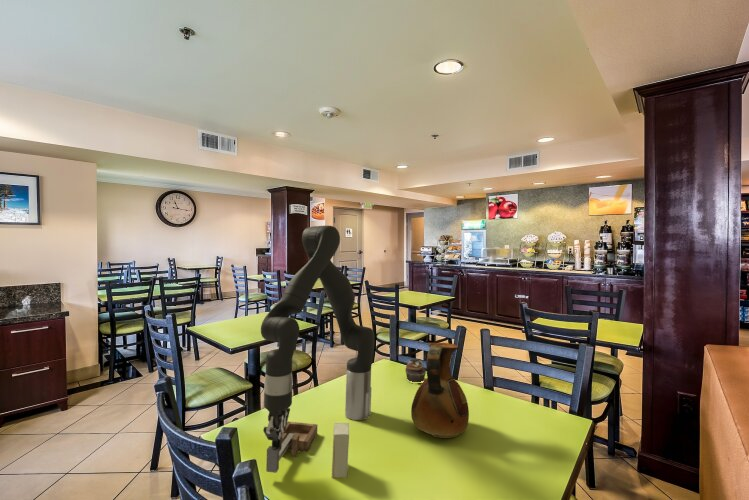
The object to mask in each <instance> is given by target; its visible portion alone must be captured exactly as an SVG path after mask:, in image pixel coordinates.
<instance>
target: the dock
mask: <svg viewBox="0 0 749 500" xmlns="http://www.w3.org/2000/svg"><path fill="white" fill-rule="evenodd" d="M289 433H293V434H294V437H293V439H292V442H291V444H290V445H289V447H288V448H287V450H286V451H291V457H292V458H293V457H294V458H296V457H297V455H298V453H299V452H304V453H308V452H309V450H310V449H311V446H312V445H313V442H314V441H315V439H316V437H317V436H318V424H317V423H316V424H315V423H309V422H308V423H305V422H297V421H287V425H286V429H285V431H283V436H281V437H282V443H283V441H284V440H285V439H286V437H287V436H288V434H289Z"/></svg>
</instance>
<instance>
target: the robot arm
mask: <svg viewBox="0 0 749 500" xmlns="http://www.w3.org/2000/svg"><path fill="white" fill-rule="evenodd" d="M301 235H302V236H301V243H302V245H303V249H304V252H305V253H306V255H307V257H308V259H309V260H308V262H306V264H305V265H304V266H302V267H301V268H300V269H299V270H298V271H297V272H296V273H295V274H294V276H292V277H291V279H290V280H289V281H288V283H287V286H286V288H285V290H284V292H283V294H282V296H281V298H280V299H279V300H278V301H277V303H276V304H274V306H273V307H272V308H271V309H270V310H269V312H268V313H267V314H266V316H265V317H264V319H263V320H262V322H261V325H260V334H261V337H262V338H263V339H264V340H265V341H270V342H274V343H279V345H278V346H279V347H278V348H277V349H276V348H274V349H272V350H270V351H268V352H267V354H266V357H265V358H266V359H265V377H264V383H263V384H264V385H263V387H264V389H263V408H264V409H266V410H267V411H268V415H267V421H268V424H267V426H264V427H263V433H264V434H265V435H264V436H265V437H266V439H267V441H271V446H274V447H279V451H280V450H281V446H282V437H281V436H283V431H285V429H286V425H287V422H288V420H289V416H290V412H291V408H290V407H291V406H292V405H293V385H294V384H293V383H294V382H293V356H294V354H295V349H296V346H297V342H298V339H299V337H300V325H299V322H298V321H297V320H296V319H295V318H294V317H290V316H292V315H296V314H300V313H301V312H303V310H304V308H305V306H306V303H307V301H308V300H309V298H310V295H311V292H312V290H313V288H314V287H315V284H316V283H317V281H318V279H319V280H320V283H321V285H322V287H323V290H324V292H325V294H326V295H325V296H326V298H327V300H328V303H329V304H330V307H331V309H332V311H333V315H334V316H335V319H336V322H337V326H338V328H339V332H340V335H341V340H342V342H343V344H344V346H345V347H346V348H347V349H349V350H352V351H356V352H357V355H356V357H353V358H350V359H349V360H347V362H346V374H345V375H346V377H345V378H346V379H345V382H346V383H345V404H344V405H345V409H344V414H345V417H346V418H348V419H349V420H353V421H363V420H369V419H370V415H371V412H372V410H371V409H372V381H371V380H372V364H373V362H374V355H375V354H374V352H375V344H376V343H375V338H376V337H375V333H374V330H373V329H372V328H371V327H367V326H363V325H359V324H357V323H356V321H355V320H354V318H353V312H352V311H353V308H354V305H355V300H356V297H355V296H356V295H355V292H354V289H353V286H352V284H351V282H350V280H349V278H348V277H347V276H346V275H345V274H344V272H342V271H341V270H340V268H338V266H336V265H335V264H334V263H333V262H332V261H331V260H332V259H333V257H334V255H335V254H336V253H337V251H338V249H339V246H340V243H341V235H340V232H339V230H338V229H337V228H336V227H335V226H333V225H316V226H309V227H308V226H307V227H306V228H305V229H304V230H303V232H302V234H301Z"/></svg>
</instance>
